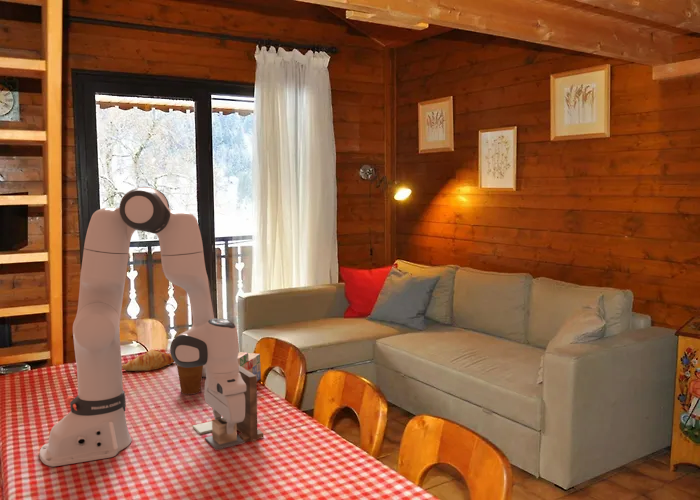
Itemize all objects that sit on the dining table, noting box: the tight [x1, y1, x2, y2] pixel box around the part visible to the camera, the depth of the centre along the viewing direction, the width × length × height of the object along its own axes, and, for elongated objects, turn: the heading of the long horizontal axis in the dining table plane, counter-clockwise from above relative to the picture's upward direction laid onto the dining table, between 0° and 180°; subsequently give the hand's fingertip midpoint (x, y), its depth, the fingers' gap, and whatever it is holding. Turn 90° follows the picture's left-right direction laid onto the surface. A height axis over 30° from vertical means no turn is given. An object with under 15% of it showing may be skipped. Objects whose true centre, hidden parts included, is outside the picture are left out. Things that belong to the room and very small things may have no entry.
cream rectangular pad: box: [192, 420, 212, 435], centre depth 178 cm, size 8×6×1 cm
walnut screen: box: [222, 366, 264, 443], centre depth 176 cm, size 6×18×18 cm, turn 34°
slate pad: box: [204, 434, 245, 451], centre depth 169 cm, size 8×8×1 cm
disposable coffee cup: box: [175, 363, 203, 395], centre depth 208 cm, size 10×10×12 cm
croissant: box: [122, 349, 175, 372], centre depth 235 cm, size 21×10×8 cm
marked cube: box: [211, 418, 238, 444], centre depth 169 cm, size 5×5×5 cm
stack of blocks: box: [238, 351, 262, 382], centre depth 212 cm, size 21×6×12 cm, turn 162°
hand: (224, 428), depth 169 cm, fingers open, 6 cm apart
